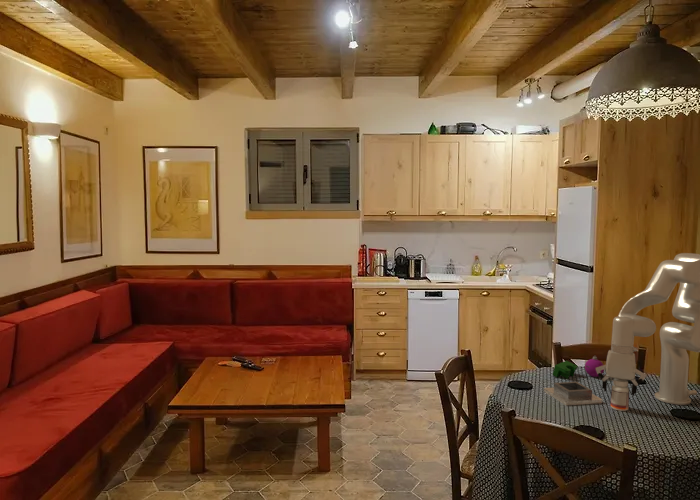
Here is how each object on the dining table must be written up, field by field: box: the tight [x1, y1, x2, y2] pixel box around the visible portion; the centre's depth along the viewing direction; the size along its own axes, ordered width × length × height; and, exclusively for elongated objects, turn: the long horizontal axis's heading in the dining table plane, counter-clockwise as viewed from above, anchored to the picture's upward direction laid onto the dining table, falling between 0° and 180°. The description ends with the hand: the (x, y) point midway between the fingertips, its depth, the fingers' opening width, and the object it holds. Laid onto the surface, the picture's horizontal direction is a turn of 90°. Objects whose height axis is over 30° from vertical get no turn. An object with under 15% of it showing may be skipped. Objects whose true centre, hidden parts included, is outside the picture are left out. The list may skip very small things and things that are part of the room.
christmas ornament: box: [584, 356, 605, 378], centre depth 243 cm, size 8×8×10 cm
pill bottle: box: [610, 378, 630, 412], centre depth 204 cm, size 6×6×11 cm
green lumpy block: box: [552, 360, 578, 380], centre depth 243 cm, size 12×6×9 cm, turn 126°
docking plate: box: [543, 381, 603, 407], centre depth 216 cm, size 16×16×4 cm
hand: (618, 392), depth 204 cm, fingers open, 9 cm apart
